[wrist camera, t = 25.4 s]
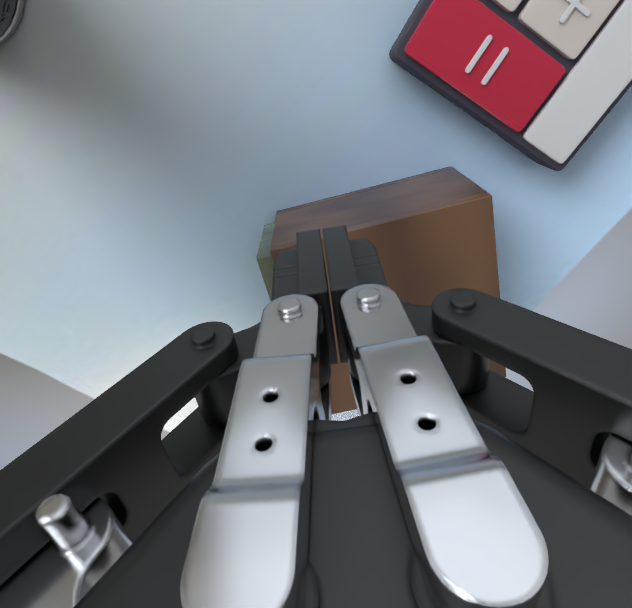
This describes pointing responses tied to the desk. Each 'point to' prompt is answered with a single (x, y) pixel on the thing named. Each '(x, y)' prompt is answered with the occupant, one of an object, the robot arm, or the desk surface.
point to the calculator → (524, 66)
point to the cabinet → (408, 243)
